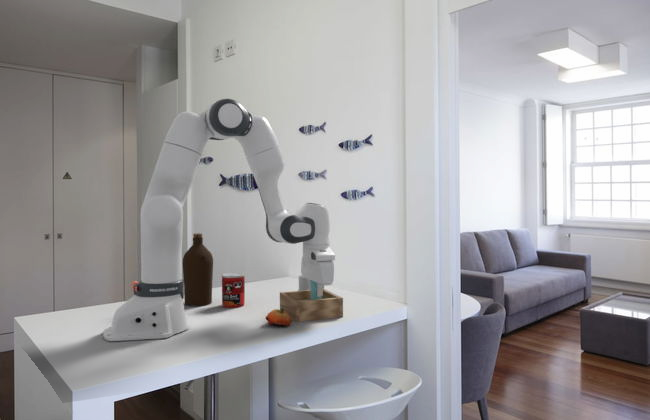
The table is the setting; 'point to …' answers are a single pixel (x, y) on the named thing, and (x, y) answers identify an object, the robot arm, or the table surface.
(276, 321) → the tomato
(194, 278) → the olive oil
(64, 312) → the table surface
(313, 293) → the peg
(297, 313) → the box
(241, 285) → the canned food
